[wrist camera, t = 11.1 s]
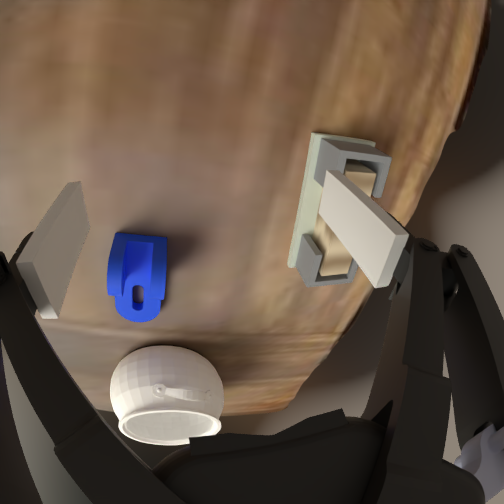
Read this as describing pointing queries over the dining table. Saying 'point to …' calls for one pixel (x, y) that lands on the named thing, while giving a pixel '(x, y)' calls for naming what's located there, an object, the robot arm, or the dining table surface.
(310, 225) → the bracket board
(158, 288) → the bracket
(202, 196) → the dining table surface
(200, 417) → the pot
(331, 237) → the tan long curved block
